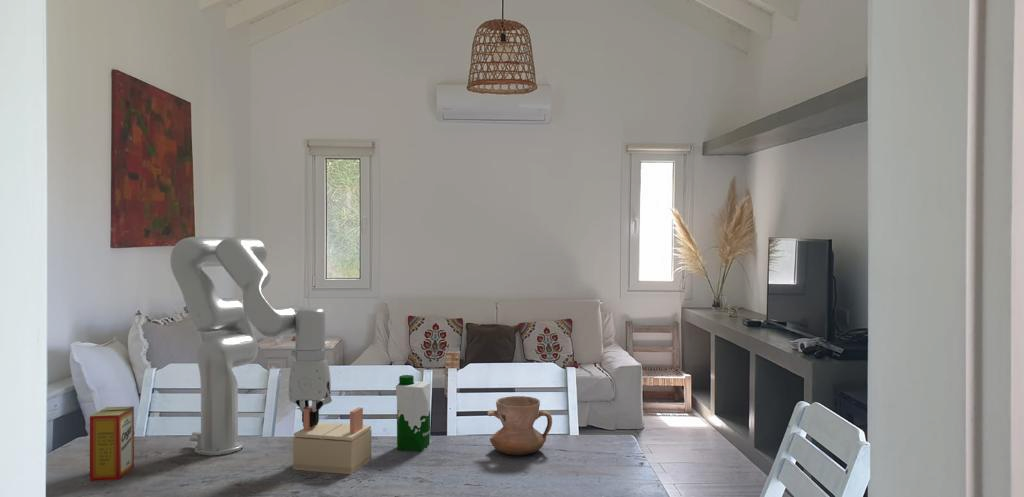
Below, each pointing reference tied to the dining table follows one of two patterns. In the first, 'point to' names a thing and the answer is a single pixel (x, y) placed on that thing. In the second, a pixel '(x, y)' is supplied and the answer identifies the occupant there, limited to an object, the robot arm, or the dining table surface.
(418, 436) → the soya milk
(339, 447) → the carton
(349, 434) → the flap
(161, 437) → the dining table surface
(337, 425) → the flap
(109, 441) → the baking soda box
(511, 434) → the ceramic jug
